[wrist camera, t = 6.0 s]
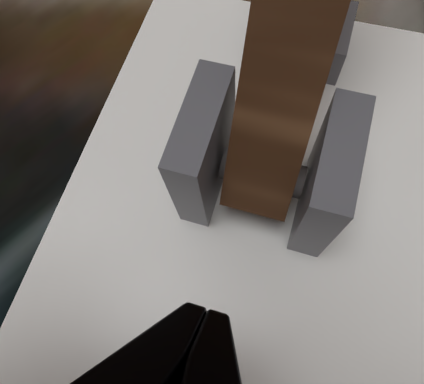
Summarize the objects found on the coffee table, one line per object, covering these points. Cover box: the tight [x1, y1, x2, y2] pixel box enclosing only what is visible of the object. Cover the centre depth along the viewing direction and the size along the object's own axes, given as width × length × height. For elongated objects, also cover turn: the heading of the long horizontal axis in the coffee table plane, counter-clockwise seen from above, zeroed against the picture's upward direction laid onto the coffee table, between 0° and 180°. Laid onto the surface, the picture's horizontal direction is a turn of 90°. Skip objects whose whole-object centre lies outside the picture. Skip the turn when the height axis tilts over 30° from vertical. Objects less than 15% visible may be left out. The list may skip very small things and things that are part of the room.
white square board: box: [0, 0, 424, 384], centre depth 14 cm, size 24×16×7 cm, turn 163°
